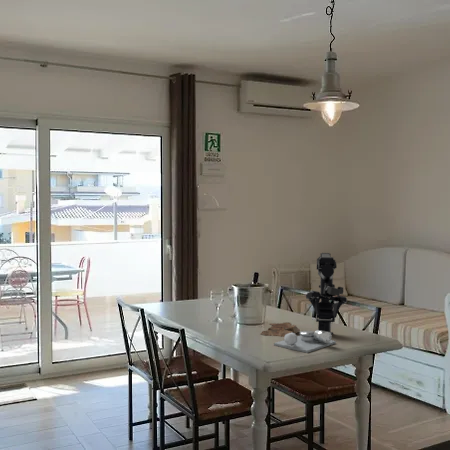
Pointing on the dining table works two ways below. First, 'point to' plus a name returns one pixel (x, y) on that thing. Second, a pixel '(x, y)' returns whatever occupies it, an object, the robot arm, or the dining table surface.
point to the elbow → (318, 335)
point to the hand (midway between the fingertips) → (326, 316)
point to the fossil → (280, 329)
